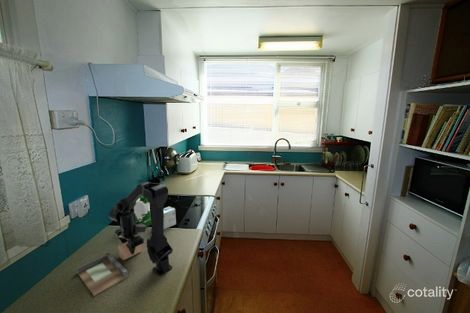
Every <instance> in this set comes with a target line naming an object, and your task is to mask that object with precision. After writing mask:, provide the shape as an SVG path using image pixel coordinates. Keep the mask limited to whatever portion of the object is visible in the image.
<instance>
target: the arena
mask: <svg viewBox="0 0 470 313" xmlns="http://www.w3.org/2000/svg"><path fill="white" fill-rule="evenodd" d="M76 273H77V275H78V277H79V278H80V279H81V280H82V282H83V284H85V286H86V287H87V289H88V290H89V291H90V294H92V296H93V297H96V296H98V295H99V294H101V293H102V292H104V291H106V290H109V288H112V287H113V286H115V285H117V284H119V283H120V282H122V281H123V280H125V279H127V278H128V277H129V271H128V270H127V269H126V268H125V267H124V266H123V265H122V264H121V263H120V262H119V261H118V260H116V259H115V257H114V256H112V254H111V253H110V252H107V253H105V254H103V255H100V256H99V257H97V258H93V259H92V260H89V261H87V262H85V263H84V264H81V265H78V266H77V267H76Z"/></svg>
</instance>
